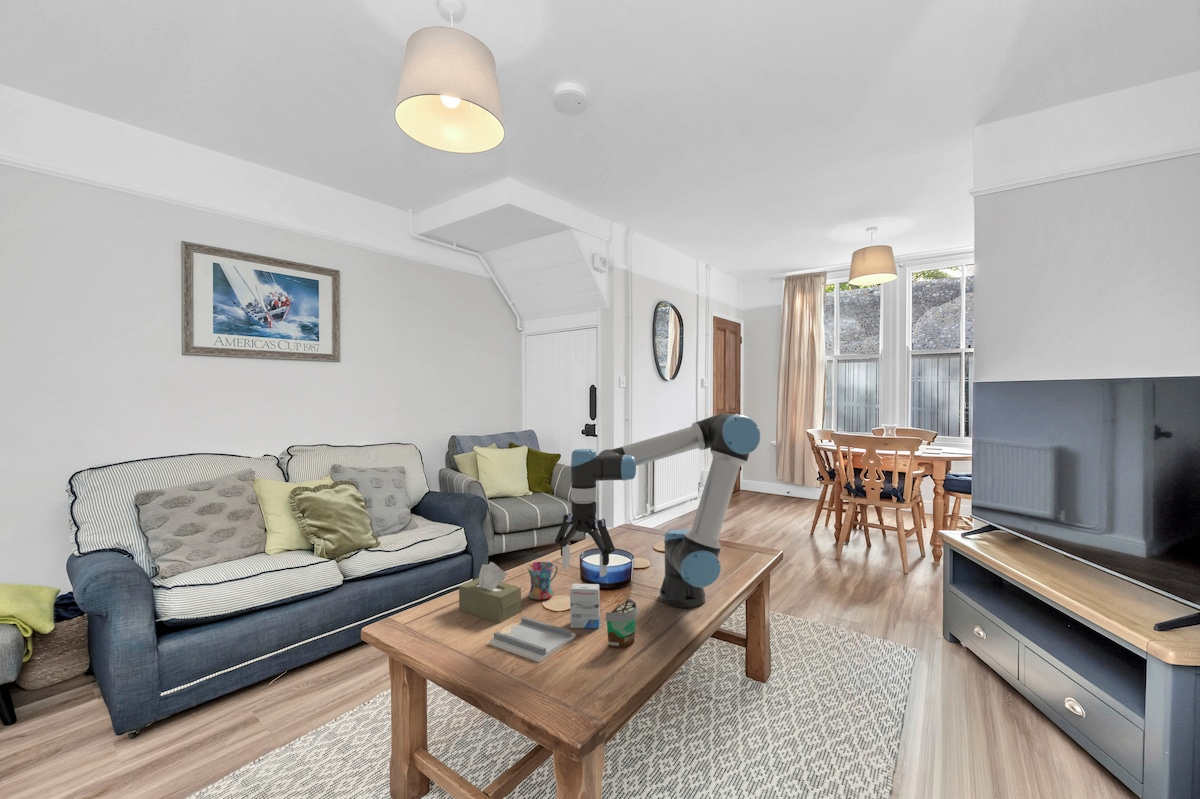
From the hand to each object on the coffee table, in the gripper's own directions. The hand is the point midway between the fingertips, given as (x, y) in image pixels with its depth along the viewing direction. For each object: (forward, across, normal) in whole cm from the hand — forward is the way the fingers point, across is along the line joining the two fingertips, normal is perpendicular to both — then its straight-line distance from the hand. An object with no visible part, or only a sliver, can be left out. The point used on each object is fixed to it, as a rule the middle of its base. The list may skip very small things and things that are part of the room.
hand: (584, 571), depth 153 cm
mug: (+16, +25, -11) cm, 32 cm away
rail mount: (+16, +7, +16) cm, 24 cm away
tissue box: (+17, +32, +8) cm, 37 cm away
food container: (+16, -16, +3) cm, 23 cm away
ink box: (+16, 0, 0) cm, 16 cm away
